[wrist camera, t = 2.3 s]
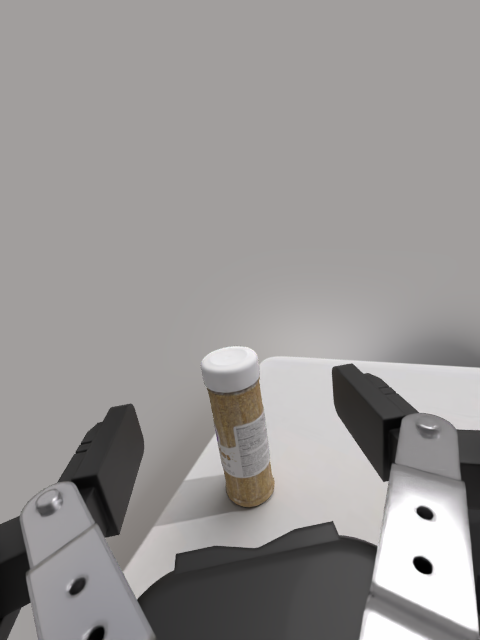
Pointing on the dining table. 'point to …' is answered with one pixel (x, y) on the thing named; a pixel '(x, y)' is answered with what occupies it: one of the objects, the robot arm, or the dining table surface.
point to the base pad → (475, 550)
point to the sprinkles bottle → (239, 423)
